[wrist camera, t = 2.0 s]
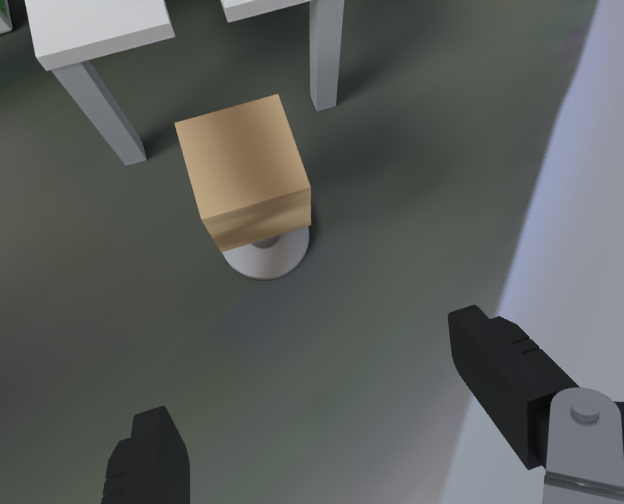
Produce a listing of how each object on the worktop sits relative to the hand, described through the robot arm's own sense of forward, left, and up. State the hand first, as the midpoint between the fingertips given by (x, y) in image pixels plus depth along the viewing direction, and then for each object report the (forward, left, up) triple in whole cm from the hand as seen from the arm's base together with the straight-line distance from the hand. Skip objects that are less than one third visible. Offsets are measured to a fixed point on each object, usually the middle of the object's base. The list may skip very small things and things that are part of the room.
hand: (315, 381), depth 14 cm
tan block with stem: (0, +11, -18) cm, 21 cm away
